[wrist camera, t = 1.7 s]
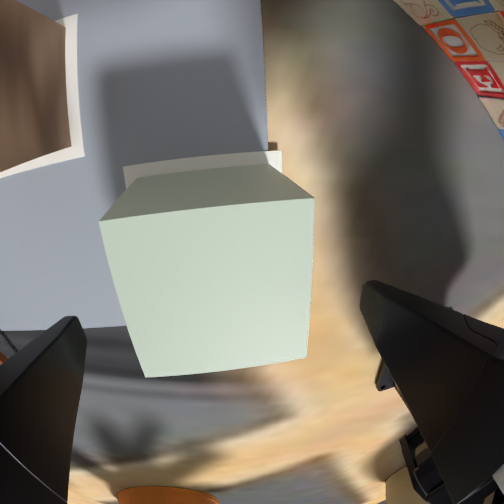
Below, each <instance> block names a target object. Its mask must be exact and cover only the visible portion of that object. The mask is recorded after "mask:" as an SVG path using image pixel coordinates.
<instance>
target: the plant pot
mask: <svg viewBox="0 0 504 504" xmlns="http://www.w3.org/2000/svg"><path fill="white" fill-rule="evenodd" d="M386 504H429V503H428V502H426V501H425V500H424V499H422V497H421V496H420V495H419V494H418V493H416V491H415V490H414V489H413V486H412V482H411V479H410V475H409V472H408V468H407V466H405V467H404V468H402V469H400V470H398V471H397V472H396V473H394V474H393V475H391V476H390V477H389V478H388V479H387V480H386Z"/></svg>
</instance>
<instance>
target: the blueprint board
mask: <svg viewBox="0 0 504 504" xmlns="http://www.w3.org/2000/svg"><path fill="white" fill-rule="evenodd" d="M16 1H18V2H20V3H22V4H24V5H25V6H27V7H29V8H31V9H33V10H35V11H37V12H39V13H41V14H42V15H44V16H46V17H48V18H50V19H51V20H53V21H55V22H57V23H59V24H60V25H62V26H64V27H66V36H65V66H66V91H67V106H68V118H69V128H70V137H71V145H72V147H68V148H65V149H62V150H59V151H56V152H53V153H50V154H47V155H44V156H42V157H39V158H36V159H33V160H31V161H28V162H25V163H23V164H20V165H17V166H15V167H12V168H10V169H8V170H5V171H3V172H0V329H1V331H14V330H47V329H48V328H50V327H51V326H52V325H54V324H55V323H56V322H58V321H59V320H60V319H62V318H63V317H65V316H77V317H78V318H79V320H80V323H81V325H82V328H96V327H112V326H126V322H125V319H124V316H123V313H122V309H121V306H120V303H119V300H118V296H117V293H116V289H115V286H114V282H113V279H112V275H111V271H110V267H109V264H108V260H107V256H106V252H105V248H104V243H103V239H102V235H101V230H100V226H99V220H100V219H101V218H102V217H103V216H104V214H105V213H106V212H107V211H108V210H109V209H110V207H111V206H112V205H113V204H114V203H115V202H116V201H117V199H118V198H119V197H120V196H121V195H122V194H123V193H124V192H125V190H126V189H127V188H128V187H129V186H130V185H131V184H132V183H133V182H134V181H135V179H136V178H139V177H146V176H153V175H160V174H168V173H176V172H184V171H193V170H202V169H212V168H223V167H234V166H247V165H261V164H270V165H271V166H273V167H274V168H275V169H277V170H278V171H279V172H281V173H282V152H281V150H275V151H268V133H267V109H266V88H265V68H264V49H263V32H262V15H261V0H16Z"/></svg>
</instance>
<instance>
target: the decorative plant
mask: <svg viewBox="0 0 504 504" xmlns="http://www.w3.org/2000/svg"><path fill="white" fill-rule="evenodd" d="M117 497H118V501H119V504H219V500H218V499H217V498H216V497H214V496H213V495H210V494H207V493H204V492H201V491H196V490H191V489H185V488H177V487H162V486H142V487H133V488H127V489H124V490H122V491H120V492H119V493H118V495H117Z"/></svg>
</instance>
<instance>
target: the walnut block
mask: <svg viewBox="0 0 504 504" xmlns="http://www.w3.org/2000/svg"><path fill="white" fill-rule="evenodd" d="M65 36H66V27H64V26H62V25H60V24H59V23H57V22H55V21H53V20H51V19H50V18H48V17H46V16H44V15H42V14H41V13H39V12H37V11H35V10H33V9H31V8H29V7H27V6H25V5H24V4H22V3H20V2H18V1H16V0H0V172H3V171H5V170H8V169H10V168H12V167H15V166H17V165H20V164H23V163H25V162H28V161H31V160H33V159H36V158H39V157H42V156H44V155H47V154H50V153H53V152H56V151H59V150H62V149H65V148H68V147H72V145H71V137H70V128H69V118H68V106H67V91H66V66H65Z"/></svg>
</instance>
